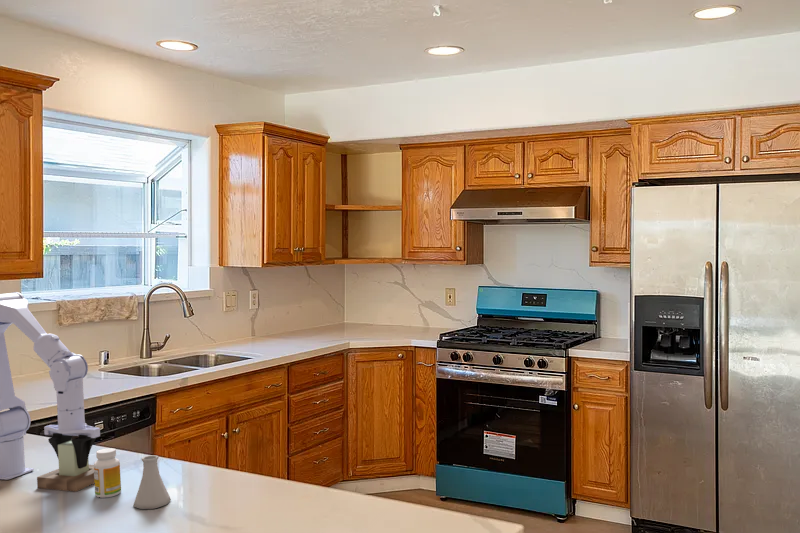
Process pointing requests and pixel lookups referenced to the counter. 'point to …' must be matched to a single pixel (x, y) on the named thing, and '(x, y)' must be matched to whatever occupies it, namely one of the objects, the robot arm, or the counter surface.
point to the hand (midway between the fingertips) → (73, 466)
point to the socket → (66, 480)
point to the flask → (151, 486)
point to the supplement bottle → (107, 473)
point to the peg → (69, 460)
